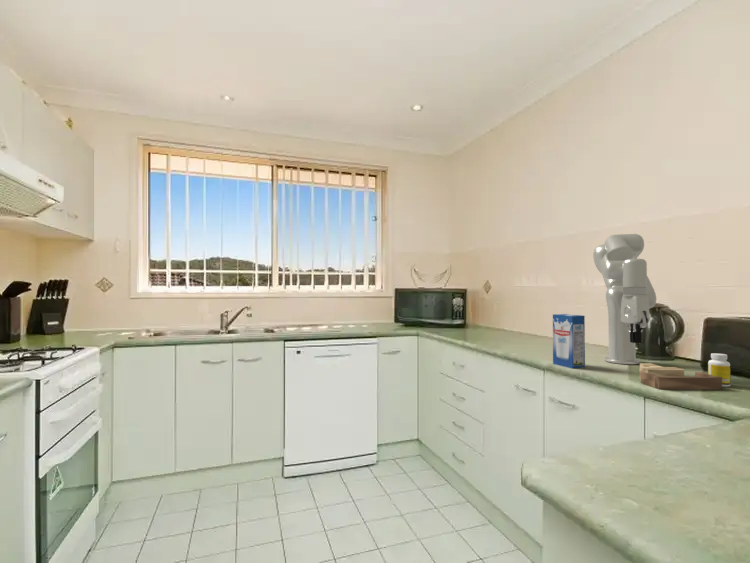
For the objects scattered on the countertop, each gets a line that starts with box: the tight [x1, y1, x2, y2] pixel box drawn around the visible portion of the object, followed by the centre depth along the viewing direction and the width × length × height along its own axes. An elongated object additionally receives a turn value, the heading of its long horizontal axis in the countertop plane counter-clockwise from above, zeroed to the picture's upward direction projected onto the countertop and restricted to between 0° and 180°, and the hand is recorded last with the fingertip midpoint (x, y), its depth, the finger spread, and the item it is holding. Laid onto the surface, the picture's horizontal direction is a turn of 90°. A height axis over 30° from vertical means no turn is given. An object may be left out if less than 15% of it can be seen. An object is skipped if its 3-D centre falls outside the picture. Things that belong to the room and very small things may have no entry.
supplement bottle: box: [707, 352, 731, 388], centre depth 127 cm, size 5×5×10 cm
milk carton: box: [552, 313, 586, 369], centre depth 159 cm, size 10×6×20 cm, turn 20°
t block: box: [639, 362, 685, 380], centre depth 137 cm, size 10×12×4 cm
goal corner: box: [640, 371, 723, 390], centre depth 126 cm, size 8×19×4 cm, turn 90°
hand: (635, 342), depth 147 cm, fingers closed
